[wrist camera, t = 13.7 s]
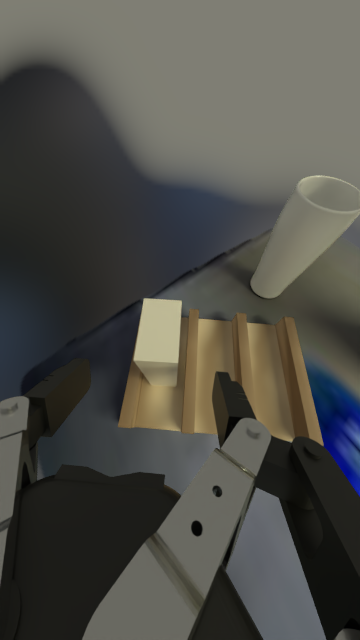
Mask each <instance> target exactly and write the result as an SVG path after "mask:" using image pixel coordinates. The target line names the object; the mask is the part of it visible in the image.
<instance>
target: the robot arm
mask: <svg viewBox="0 0 360 640" xmlns="http://www.w3.org/2000/svg"><path fill="white" fill-rule="evenodd" d="M90 384H91V375H90V363H89V360H88V359H80V358H74V359H73V360H72V361H71V362H69V363H68V364H67V365H64V366H62V367H60V368H58V369H56V370H55V371H53V372H52V373H51V374H50V375H49V376H47V377H46V378H45V379H43V381H41V382H40V383H38V384H37V385H36V386H35V387H33V388H32V389H31V390H30V391H28V392H27V393H26V394H25V395H24V396H18V397H12V398H9V399H6V400H3V401H1V402H0V640H263V638H262V636H261V634H260V633H259V631H258V629H257V627H256V625H255V623H254V622H253V620H252V618H251V616H250V614H249V613H248V611H247V609H246V607H245V605H244V604H243V602H242V600H241V598H240V596H239V594H238V593H237V591H236V589H235V587H234V585H233V584H232V582H231V580H230V578H229V576H228V574H227V573H226V570H227V567H228V564H229V562H230V559H231V556H232V554H233V551H234V548H235V545H236V542H237V539H238V536H239V533H240V530H241V528H242V525H243V522H244V519H245V517H246V514H247V511H248V509H249V506H250V503H251V501H252V498H253V495H254V493H255V490H256V487H257V488H259V489H261V490H263V491H265V492H268V493H270V494H272V495H274V496H276V497H278V498H279V500H280V503H281V506H282V509H283V512H284V515H285V518H286V521H287V524H288V527H289V530H290V533H291V536H292V539H293V542H294V545H295V548H296V550H297V553H298V556H299V559H300V562H301V565H302V568H303V571H304V574H305V577H306V580H307V583H308V586H309V589H310V592H311V595H312V598H313V601H314V604H315V607H316V610H317V613H318V616H319V619H320V622H321V625H322V627H323V630H324V633H325V636H326V639H327V640H360V497H359V495H358V494H357V492H356V491H355V489H354V488H353V487H352V485H351V484H350V482H349V481H348V479H347V478H346V476H345V475H344V473H343V472H342V470H341V469H340V468H339V466H338V465H337V463H336V462H335V460H334V459H333V457H332V456H331V454H330V453H329V452H328V451H327V450H326V449H325V448H324V447H323V446H322V445H321V444H319V443H318V442H316V441H314V440H312V439H310V438H307V437H303V436H298V437H295V438H294V439H293V441H292V443H290V442H287V441H285V440H282V439H279V438H276V437H274V436H272V435H271V434H270V432H269V430H268V429H267V427H266V426H265V425H264V424H262V423H261V422H259V421H257V419H256V416H255V414H254V412H253V410H252V407H251V405H250V403H249V401H248V398H247V396H246V395H245V391H244V389H243V387H242V386H241V385H240V384H239V383H238V382H237V381H231V378H230V375H229V373H228V372H219V371H216V373H215V378H214V384H213V391H212V404H213V410H214V416H215V421H216V427H217V433H218V439H219V444H220V450H219V449H218V448H216V449H215V450H214V451H213V452H212V453H211V455H210V456H209V458H208V459H207V461H206V462H205V463H204V465H203V466H202V468H201V469H200V471H199V472H198V473H197V475H196V476H195V478H194V479H193V481H192V482H191V483H190V485H189V486H188V488H187V489H186V491H185V492H184V493H183V495H182V496H181V495H180V494H179V493H177V492H176V491H175V490H173V489H172V488H170V487H168V486H166V485H164V479H165V475H162V474H153V473H143V472H138V473H132V474H127V475H121V476H115V477H109V476H106V475H104V474H102V473H100V472H97V471H95V470H93V469H91V468H89V467H83V466H73V465H63V464H62V466H61V467H60V469H59V470H58V472H57V474H56V475H52V476H49V477H45V478H43V479H40V480H38V481H37V463H38V443H37V441H38V439H39V438H40V437H41V436H43V437H52V436H53V435H54V433H55V432H56V431H57V429H58V428H59V427H60V426H61V424H62V423H63V422H64V421H65V419H66V418H67V417H68V415H69V414H70V413H71V412H72V410H73V409H74V408H75V406H76V405H77V404H78V403H79V401H80V400H81V399H82V398H83V396H84V395H85V394H86V392H87V391H88V390H89V387H90Z"/></svg>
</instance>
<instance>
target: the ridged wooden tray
mask: <svg viewBox="0 0 360 640" xmlns="http://www.w3.org/2000/svg"><path fill="white" fill-rule="evenodd" d="M142 308H143V307H142ZM141 314H142V312H141ZM140 320H141V317H140ZM139 325H140V322H139ZM138 331H139V327H138ZM137 337H138V332H137ZM137 337H136V341H135V346H134V351H133V356H132V361H131V366H130V371H129V376H128V380H127V385H126V390H125V395H124V400H123V405H122V410H121V415H120V419H119V424H118V427H124V428H133V427H142V428H153V429H164V430H175V431H181V432H182V433H190V434H194V432H197V433H208V434H218V433H217V427H216V421H215V416H214V410H213V404H212V391H213V384H214V378H215V373H216V371H219V372H228V373H229V375H230V378H231V381H237V382H238V383H239V384H240V385H241V386H242V387H243V389H244V391H245V395H246V396H247V398H248V401H249V403H250V405H251V407H252V410H253V412H254V414H255V416H256V419H257V421H259V422H261V423H262V424H264V425H265V426H266V427H267V429H268V430H269V432H270V434H271V435H272V436H274V437H276V438H279V439H282V440H285V441H293V439H294V438H295V437H298V436H303V437H307V438H310V439H312V440H314V441H316V442H318V443H319V444H321V445H322V446H324V445H323V441H322V436H321V432H320V428H319V424H318V419H317V415H316V411H315V407H314V402H313V398H312V394H311V390H310V385H309V381H308V377H307V373H306V369H305V364H304V360H303V356H302V352H301V347H300V343H299V339H298V335H297V330H296V326H295V322H294V318H293V317H283V318H282V319H281V320H280V321H279V322H278V323H277V324H276V325H268V324H256V323H247V318H246V313H236V315H235V317H234V318H233V320H232V321H220V320H208V319H199V310H198V309H190V311H189V318H184V317H181V323H180V340H179V358H178V372H177V384H176V387H172V386H155V385H151V384H150V383H149V381H148V380H147V379H146V377H145V376H144V374H143V373H142V372H141V370H140V369H139V367H138V366H137V365H136V363H135V362H134V354H135V349H136V343H137Z"/></svg>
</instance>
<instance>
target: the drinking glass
mask: <svg viewBox="0 0 360 640" xmlns="http://www.w3.org/2000/svg"><path fill="white" fill-rule="evenodd" d="M359 214H360V190H359V189H358V188H356V187H355V186H353V185H352V184H350V183H347V182H345V181H343V180H340V179H337V178H333V177H328V176H309V177H306V178H303V179H302V180H300V181H299V182H298V183H297V185H296V187H295V189H294V190H293V192H292V194H291V195H290V197H289V199H288V201H287V203H286V204H285V206H284V208H283V210H282V212H281V214H280V216H279V218H278V220H277V222H276V224H275V226H274V229H273V231H272V233H271V236H270V238H269V241H268V243H267V245H266V248H265V250H264V252H263V255H262V257H261V259H260V262H259V264H258V266H257V269H256V271H255V273H254V275H253V276H252V278H251V288H252V290H253V291H254V292H255V293H256V294H257V295H259V296H261V297H263V298H269V299H270V298H275V297H277V296H279V295H280V294H281V293H282V292H283V291H284V290H285V289H286V288H287V287H288V286H289V285H290V284H291V283H292V282H293V281H294V280H295V279H296V278H297V277H298V276H299V275H300V274H301V273H302V272H304V271H305V270H306V269H307V268H308V267H309V266H310V265H311V264H312V263H313V262H314V261H315V260H316V259H318V258H319V257H320V256H321V255H322V254H323V253H324V252H325V251H326V250H327V249H328V248H329V247H330V246H331V245H332V244H333V243H334V242H335V241H336V240H337V239H338V238H339V237H340V236H341V235H342V233H344V232H345V230H346V229H347V228H348V227H349V226H350V225H351V224H352V222H353V221H354V220H355V219H356V218H357V217H358V215H359Z"/></svg>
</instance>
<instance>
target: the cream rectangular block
mask: <svg viewBox="0 0 360 640" xmlns="http://www.w3.org/2000/svg"><path fill="white" fill-rule="evenodd" d="M181 306H182V301H178V300H162V299H145V298H144V302H143V308H142V314H141V320H140V325H139V331H138V337H137V343H136V349H135V354H134V362H135V363H136V365H137V366H138V367H139V369H140V370H141V372H142V373H143V374H144V376H145V377H146V379H147V380H148V381H149V383H150V384H151V385H155V386H172V387H176V384H177V372H178V358H179V340H180V323H181Z"/></svg>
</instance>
